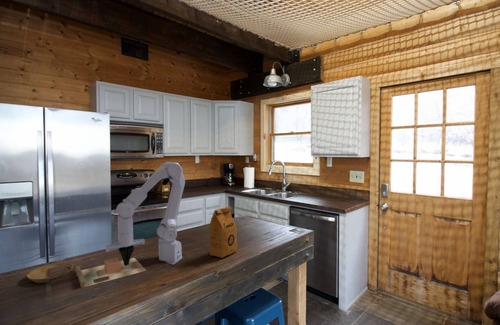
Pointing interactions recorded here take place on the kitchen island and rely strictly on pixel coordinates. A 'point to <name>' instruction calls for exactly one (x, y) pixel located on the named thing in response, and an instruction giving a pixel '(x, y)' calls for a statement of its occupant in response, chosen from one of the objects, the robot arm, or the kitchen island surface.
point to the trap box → (99, 272)
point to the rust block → (112, 265)
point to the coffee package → (222, 233)
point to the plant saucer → (47, 273)
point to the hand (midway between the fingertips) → (126, 264)
